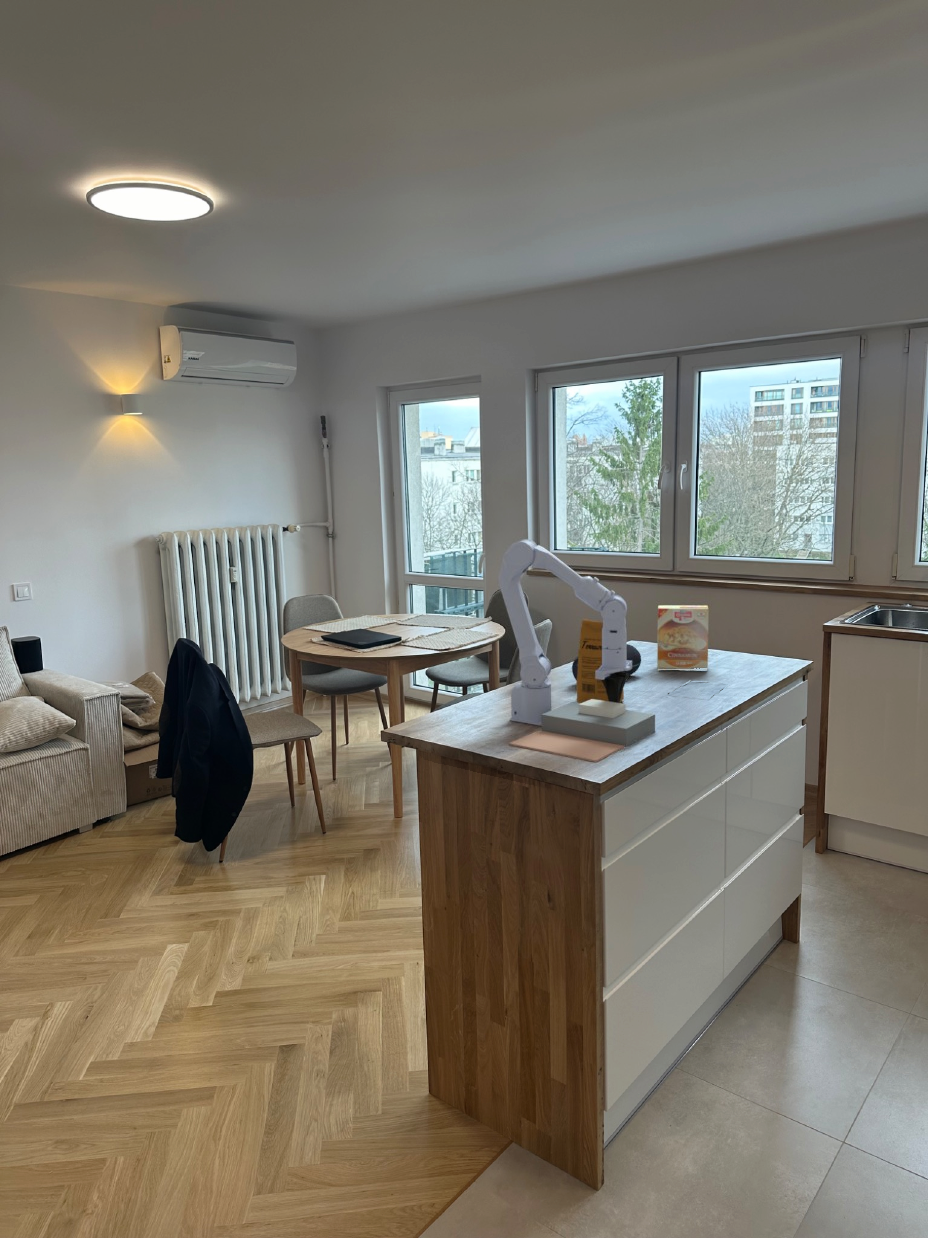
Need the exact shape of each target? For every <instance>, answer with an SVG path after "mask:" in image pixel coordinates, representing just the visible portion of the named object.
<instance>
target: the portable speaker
mask: <svg viewBox="0 0 928 1238" xmlns="http://www.w3.org/2000/svg"><path fill="white" fill-rule="evenodd" d="M626 652H627V660H629V661H632V669H631V670H628V671H623V673H628V674H629V676H631V675H633V674H635V673H636V672H637V671H638V670H639V668H640V666H641V664H642V656H641V654H640V651H639V650H638V649H637V648H636V647H635V646H633V645H632V644H630V643H629V644H627V647H626ZM571 665H572V666H571V671H572V672H571V673H572V675H573V678H574V679H575V681H576V682H577V675H578V655H577V656H576V657H575V658H574V660H573V662H572V664H571Z"/></svg>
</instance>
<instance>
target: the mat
mask: <svg viewBox="0 0 928 1238" xmlns="http://www.w3.org/2000/svg"><path fill="white" fill-rule="evenodd" d="M508 745H509V746H512V745H513V746H514V747H517V746H519V747H518V748H523V749H528V750H534V751H538V752H544V753H546V754H547V753H549V754H552V755H559V756H562V757H563V756H564V757H569V758H573V759H579V760H583V761H589V762H592V763H593V762H594V763H597V762H600V761H602V760H604V759H605V758H607V757H609V756H611V755H613V754H615V753H616V752H618V751H620V750H623V749H624V748H625V746H622V745H617V744H611V743H606V742H600V741H595V740H589V739H584V738H578V737H573V736H567V735H562V734H556V733H551V732H545V731H542V730H537V731H535V732H533V733H532V732H531V733H530V734H528V735H525V736H523V737H520V738H518V739H515V740H514V741H511V742H509V743H508Z"/></svg>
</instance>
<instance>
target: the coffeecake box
mask: <svg viewBox="0 0 928 1238" xmlns="http://www.w3.org/2000/svg"><path fill="white" fill-rule="evenodd" d="M709 614H710V613H709V607H708V605H682V604H681V605H674V604H673V605H671V604H669V605H665V604H664V605H663V604H662V605H658V606H657V647H656V649H657V650H656V653H657V654H656V655H657V658H656V660H657V661H656V663H657V665H656V666H657V668H658V669H694V668H696V669H697V668H699V669H700V668H709V667H708V666H709V665H708V664H709V663H708V662H709V617H710V616H709ZM658 669H657V670H658Z"/></svg>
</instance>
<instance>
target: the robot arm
mask: <svg viewBox="0 0 928 1238" xmlns="http://www.w3.org/2000/svg"><path fill="white" fill-rule="evenodd" d="M531 566H532V569H543V570H544V569H545V570H547V571H548V572H550V573H551V574H553V575H554V576H556V577H557V578H559V579H561V580H562V581H563V582H564V583H566V584H568V585H569V586H571V587H572V588H573V591H574V596H575V598H576V597H577V599H579V600H580V601H581V602H583V603H585V605H587V606H588V607H590V608H591V609H593V610H594V611H595V612H600V616H601V618H602V622H603V628H602V665H601V667H600V668H599V669H598V670H596V671H595V679H601V681H602V683H603V684H604V687H605V689H606V693H607V696H608V700H609V702H615V703H621V702H620V699H621V695H622V691H624V687H625V686H626V682H627V681H628V679H629V674H628V673H623V671H628V670H631V669H632V661H629V660H627V652H626V647H627V635H628V634H627V632H628V631H627V630H628V629H627V627H626V625H627V621H626V616H627V611H628V606H627V602H626V600H624V598H623V597H622V596H621V595H619V594H616V592H615V591H614V590H613V589H611V590H609V589H608V588H606V587H605V586H604V585H602V584H601V583H599V581H600V579H599V578H597V577H596V576H594V577H591V576H590V575H588V576H587V575H585V576H581V575H580V574H579V573H577V571H575V570H573V568H570V567H569V565H568V564H566V563H565V562H563V561H562V560H561V559H559V558H558V556H556V555H555V554H553V553H552V552H551V551H549V550H548V549H546V548H545V547H543V546H541V545H539V544H538V545H537V543H536V542H535V541H534V540H531V539H528V538H527V539H526V538H525V539H521V540H519V541H516V542H514V543H512V544H510V546H509V547H508V549H506V552H505V553H504V554H503V556H502V563H501V566H500V569H499V570H500V571H499V574H498V579H497V581H498V585H499V587H500V588H499V589H500V591H501V595H502V598H503V601H504V606H505V608H506V612H507V614H508V618H509V621H510V624H511V628H512V631H513V634H514V637H515V641H516V644H517V647H518V651H519V653H518V654H519V656H518V657H519V663H520V673H519V674H520V675H519V676H520V679H521V682H517V683H515V684H514V686H513V687H512V689H511V694H510V695H511V696H510V698H511V699H510V703H511V704H510V708H511V717H510V718H509V720H510V721H512V722H516V723H522V724H528V725H534V726H540V727H542V726H541V714H544V713H546V712H549V711H551V710H552V682H551V680H549V676H550V673H551V671H552V663H551V660H549V658H548V657H547V656H546V655H545V653H544V651H543V648H542V647H541V645H540V643H539V640H538V638H537V634H536V631H535V628H534V624H533V621H532V617H531V614H530V611H529V607H528V604H527V601H526V598H525V595H524V591H523V588H522V584H521V580H522V579H523V577H524V575H525V574H526V571H527V570H528V569H529V568H530V567H531Z"/></svg>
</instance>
